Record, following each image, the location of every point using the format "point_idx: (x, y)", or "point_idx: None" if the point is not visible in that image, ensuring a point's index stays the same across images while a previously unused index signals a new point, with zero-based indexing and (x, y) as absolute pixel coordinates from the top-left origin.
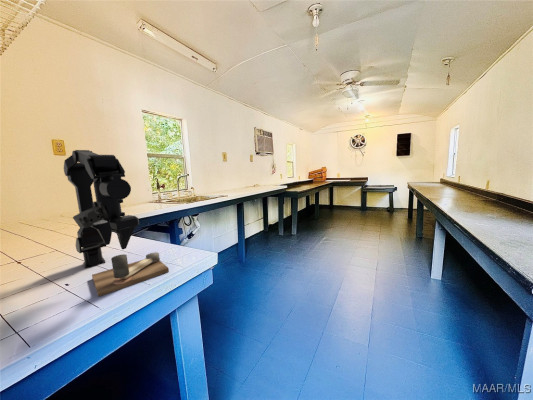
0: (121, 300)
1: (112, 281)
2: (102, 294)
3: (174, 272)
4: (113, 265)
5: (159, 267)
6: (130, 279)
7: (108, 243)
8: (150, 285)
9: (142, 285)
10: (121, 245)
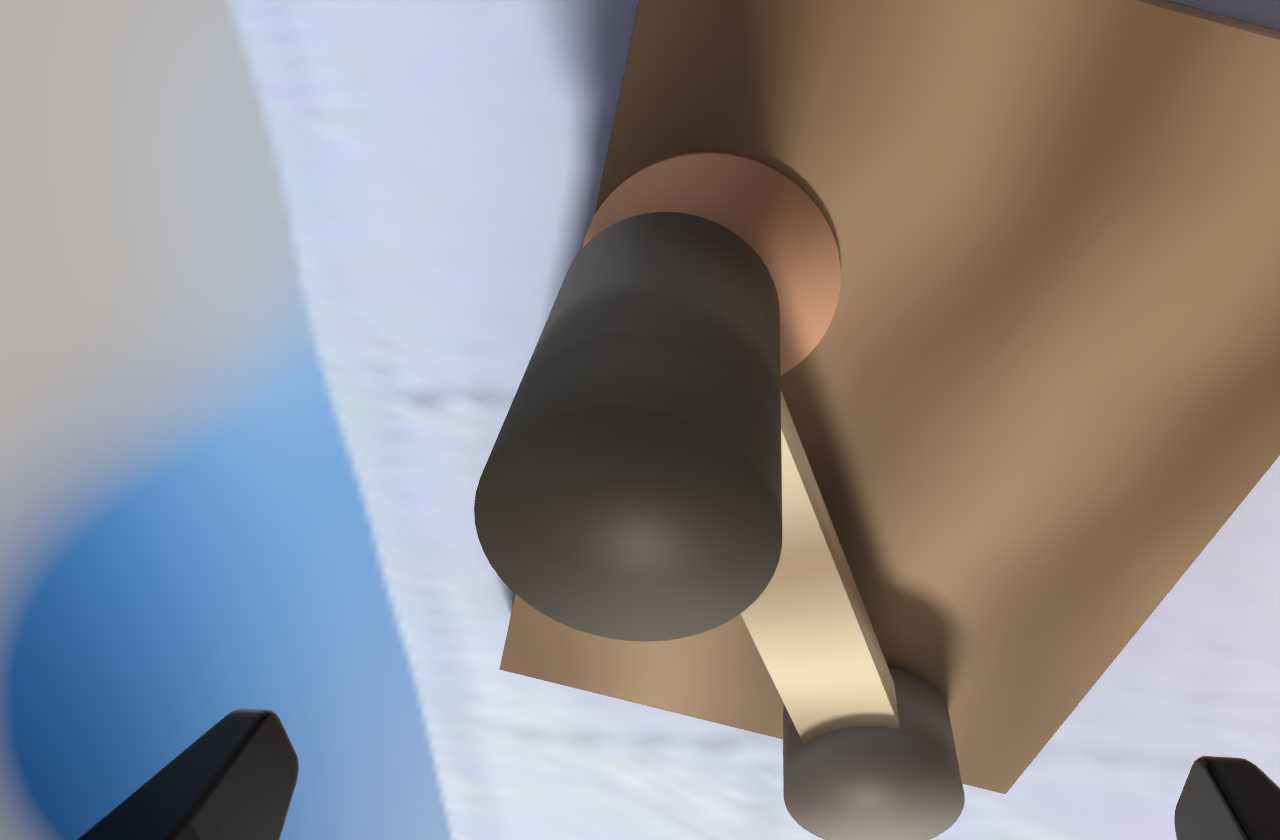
0: (290, 27)
1: (821, 183)
2: None
3: (459, 640)
4: (614, 330)
5: (609, 645)
6: None
7: (1191, 824)
8: (383, 389)
9: (467, 350)
10: (123, 810)
